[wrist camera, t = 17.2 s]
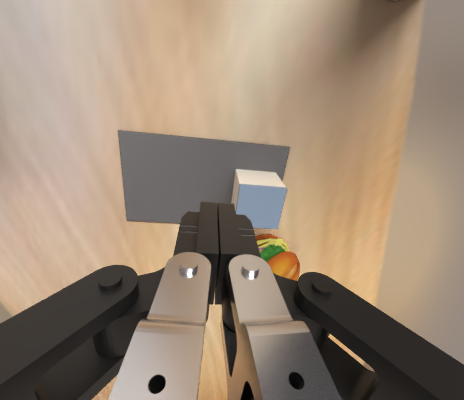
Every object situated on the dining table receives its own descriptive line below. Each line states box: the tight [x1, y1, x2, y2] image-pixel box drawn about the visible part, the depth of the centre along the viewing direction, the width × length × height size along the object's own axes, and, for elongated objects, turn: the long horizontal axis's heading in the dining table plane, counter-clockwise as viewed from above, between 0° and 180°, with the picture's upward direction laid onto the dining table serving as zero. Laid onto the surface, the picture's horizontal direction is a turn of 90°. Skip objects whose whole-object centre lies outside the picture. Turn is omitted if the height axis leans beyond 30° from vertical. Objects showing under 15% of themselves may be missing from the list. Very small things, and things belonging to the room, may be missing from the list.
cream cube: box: [231, 169, 287, 229], centre depth 39 cm, size 7×7×7 cm
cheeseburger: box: [256, 234, 300, 281], centre depth 46 cm, size 10×11×10 cm
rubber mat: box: [118, 130, 290, 223], centre depth 41 cm, size 27×16×1 cm, turn 84°
